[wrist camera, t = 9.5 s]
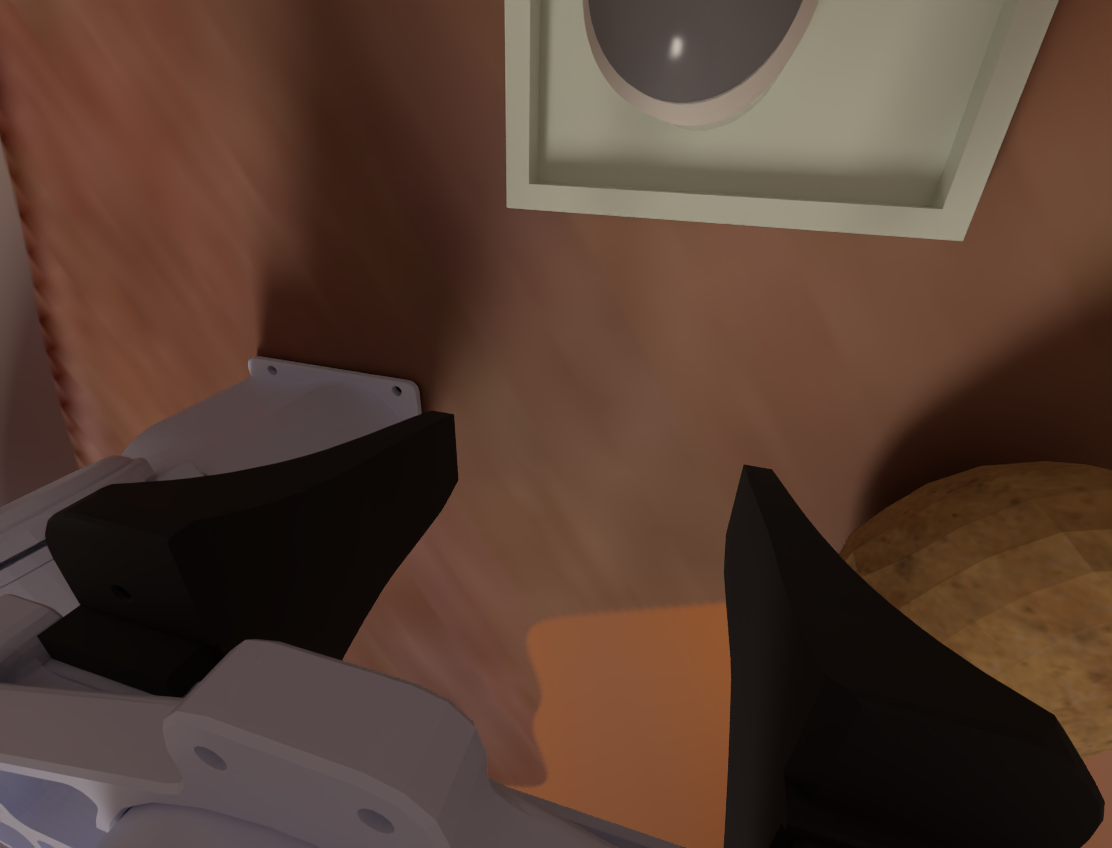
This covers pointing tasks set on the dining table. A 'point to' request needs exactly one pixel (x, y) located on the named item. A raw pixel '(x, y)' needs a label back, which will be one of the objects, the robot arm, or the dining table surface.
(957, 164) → the tray
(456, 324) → the dining table surface
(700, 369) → the dining table surface
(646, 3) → the shaker
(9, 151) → the dining table surface
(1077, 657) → the potato
